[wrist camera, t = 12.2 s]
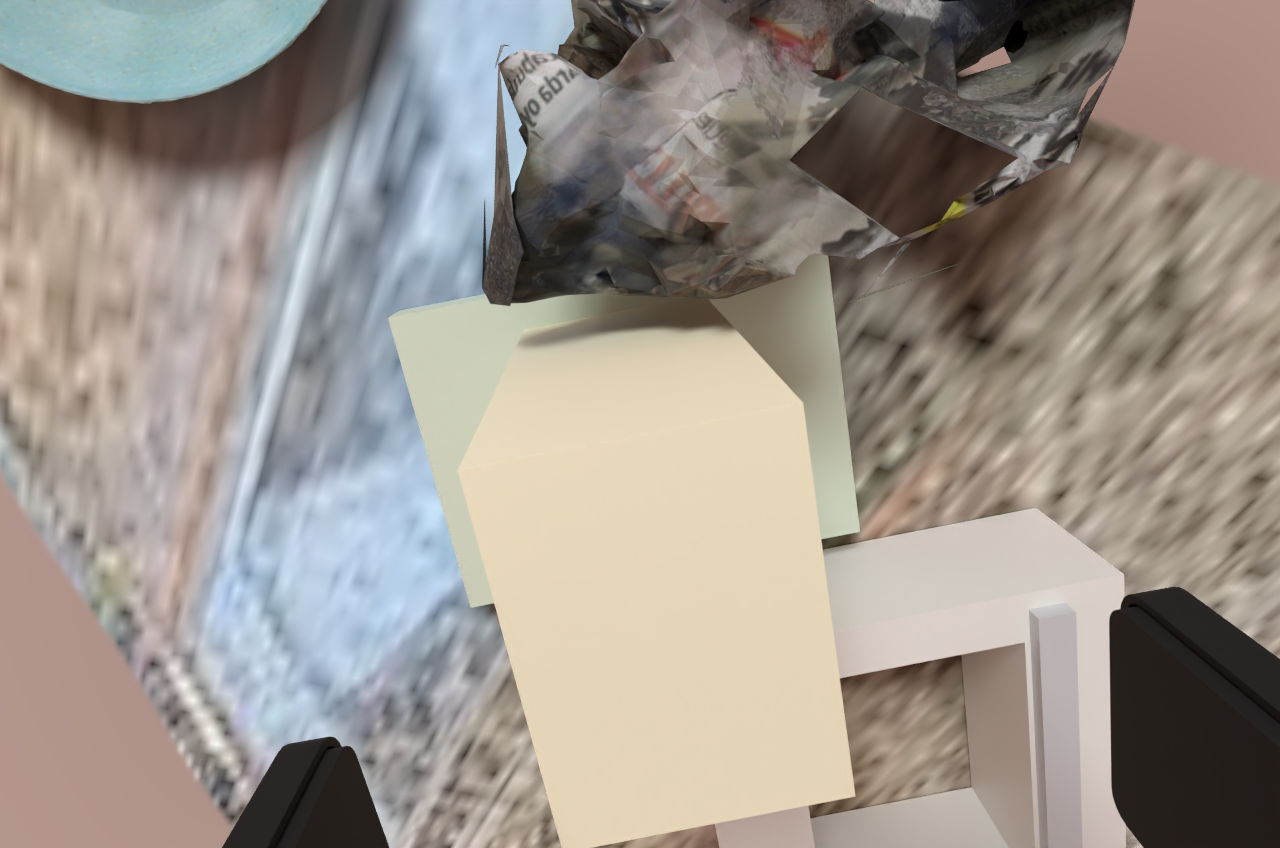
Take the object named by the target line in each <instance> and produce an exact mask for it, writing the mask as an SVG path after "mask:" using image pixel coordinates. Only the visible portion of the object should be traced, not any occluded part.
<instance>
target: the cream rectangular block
mask: <svg viewBox="0 0 1280 848" xmlns="http://www.w3.org/2000/svg"><path fill="white" fill-rule="evenodd" d="M458 474H459V477H460V481H461V485H462V488H463V492H464V496H465V499H466V503H467V506H468V510H469V514H470V517H471V521H472V525H473V528H474V532H475V535H476V539H477V543H478V546H479V550H480V553H481V557H482V561H483V564H484V568H485V572H486V575H487V579H488V582H489V586H490V590H491V593H492V597H493V601H494V604H495V608H496V611H497V615H498V619H499V622H500V626H501V629H502V633H503V637H504V640H505V644H506V648H507V651H508V655H509V658H510V662H511V666H512V669H513V673H514V677H515V680H516V684H517V687H518V691H519V695H520V698H521V702H522V705H523V709H524V713H525V716H526V720H527V724H528V727H529V731H530V734H531V738H532V742H533V745H534V749H535V753H536V756H537V760H538V763H539V767H540V771H541V774H542V778H543V781H544V785H545V789H546V792H547V796H548V800H549V803H550V807H551V810H552V814H553V818H554V821H555V825H556V829H557V832H558V836H559V839H560V843H561V847H562V848H592V847H597V846H602V845H607V844H613V843H618V842H623V841H628V840H633V839H638V838H643V837H649V836H654V835H659V834H664V833H669V832H674V831H680V830H685V829H690V828H695V827H700V826H705V825H711V824H716V823H721V822H726V821H731V820H736V819H742V818H747V817H752V816H757V815H762V814H767V813H772V812H778V811H783V810H788V809H793V808H798V807H803V806H809V805H814V804H819V803H824V802H829V801H834V800H840V799H845V798H850V797H855V790H854V782H853V775H852V767H851V760H850V752H849V745H848V737H847V730H846V722H845V714H844V707H843V699H842V692H841V684H840V677H839V669H838V662H837V654H836V647H835V639H834V632H833V624H832V617H831V609H830V601H829V594H828V586H827V579H826V571H825V564H824V556H823V549H822V541H821V534H820V526H819V519H818V511H817V503H816V496H815V488H814V481H813V473H812V466H811V458H810V451H809V443H808V436H807V428H806V421H805V413H804V405H803V402H802V401H801V400H800V399H799V398H798V397H797V395H796V394H795V393H794V392H793V391H792V390H791V389H790V388H789V387H788V386H787V385H786V384H785V382H784V381H783V380H782V379H781V378H780V377H779V376H778V375H777V374H776V373H775V372H774V370H773V369H772V368H771V367H770V366H769V365H768V364H767V363H766V362H765V361H764V360H763V359H762V357H761V356H760V355H759V354H758V353H757V352H756V351H755V350H754V349H753V348H752V347H751V345H750V344H749V343H748V342H747V341H746V340H745V339H744V338H743V337H742V336H741V335H740V334H739V332H738V331H737V330H736V329H735V328H734V327H733V326H732V325H731V324H730V323H729V322H728V320H727V319H726V318H725V317H724V316H723V315H722V314H721V313H720V312H719V311H718V310H717V309H716V307H715V306H714V305H713V304H712V303H711V302H710V301H709V300H708V299H699V298H684V299H679V300H674V301H669V302H664V303H659V304H654V305H649V306H644V307H639V308H633V309H628V310H623V311H618V312H613V313H608V314H603V315H598V316H593V317H588V318H583V319H578V320H573V321H568V322H563V323H558V324H553V325H547V326H542V327H537V328H532V329H527V330H524V331H523V334H522V336H521V338H520V340H519V342H518V344H517V346H516V348H515V350H514V353H513V355H512V357H511V359H510V361H509V363H508V365H507V367H506V369H505V372H504V374H503V376H502V378H501V380H500V382H499V384H498V386H497V388H496V391H495V393H494V395H493V397H492V399H491V401H490V403H489V405H488V408H487V410H486V412H485V414H484V416H483V418H482V420H481V422H480V424H479V427H478V429H477V431H476V433H475V435H474V437H473V439H472V441H471V443H470V446H469V448H468V450H467V452H466V454H465V456H464V458H463V460H462V462H461V465H460V467H459V469H458Z"/></svg>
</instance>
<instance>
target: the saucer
mask: <svg viewBox="0 0 1280 848" xmlns="http://www.w3.org/2000/svg"><path fill="white" fill-rule="evenodd" d="M327 1H328V0H0V64H1V65H3V66H4V67H6V68H8V69H10V70H12V71H14V72H17V73H19V74H21V75H23V76H25V77H28V78H30V79H32V80H34V81H36V82H38V83H42V84H45V85H48V86H50V87H52V88H56V89H60V90H62V91H65V92H68V93H72V94H77V95H80V96H82V97H90V98H93V99H102V100H110V101H114V102H131V103H140V104H145V103H148V104H151V103H152V102H171V101H173V100H178V99H183V98H190V97H194V96H198V95H202V94H205V93H208V92H211V91H215V90H217V89H219V88H223V87H225V86H227V85H229V84H231V83H234V82H236V81H239V80H241V79H242V78H244V77H246V76H248V75H250V74H251V73H253V72H255V71H256V70H258V69H260V68H261V67H263V66H264V65H265V64H267V63H269V62H271V61H272V60H273V59H274V58H275V57H276V56H278V55H279V54H280V53H282V52H283V51H284V50H286V49H287V48H288V47H290V46H291V44H293V43H294V41H295V40H296V39H297V38H298V37H299V35H300V34H301V33H302V32H303V31H304V30H306V29H307V27H308V25H309V24H310V23H311V22H312V20H313V19H314V18H315V17H316V16H317V15H318V14H319V13H320V10H321V8H322V7H323V6H324V5H325V3H326V2H327Z"/></svg>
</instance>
